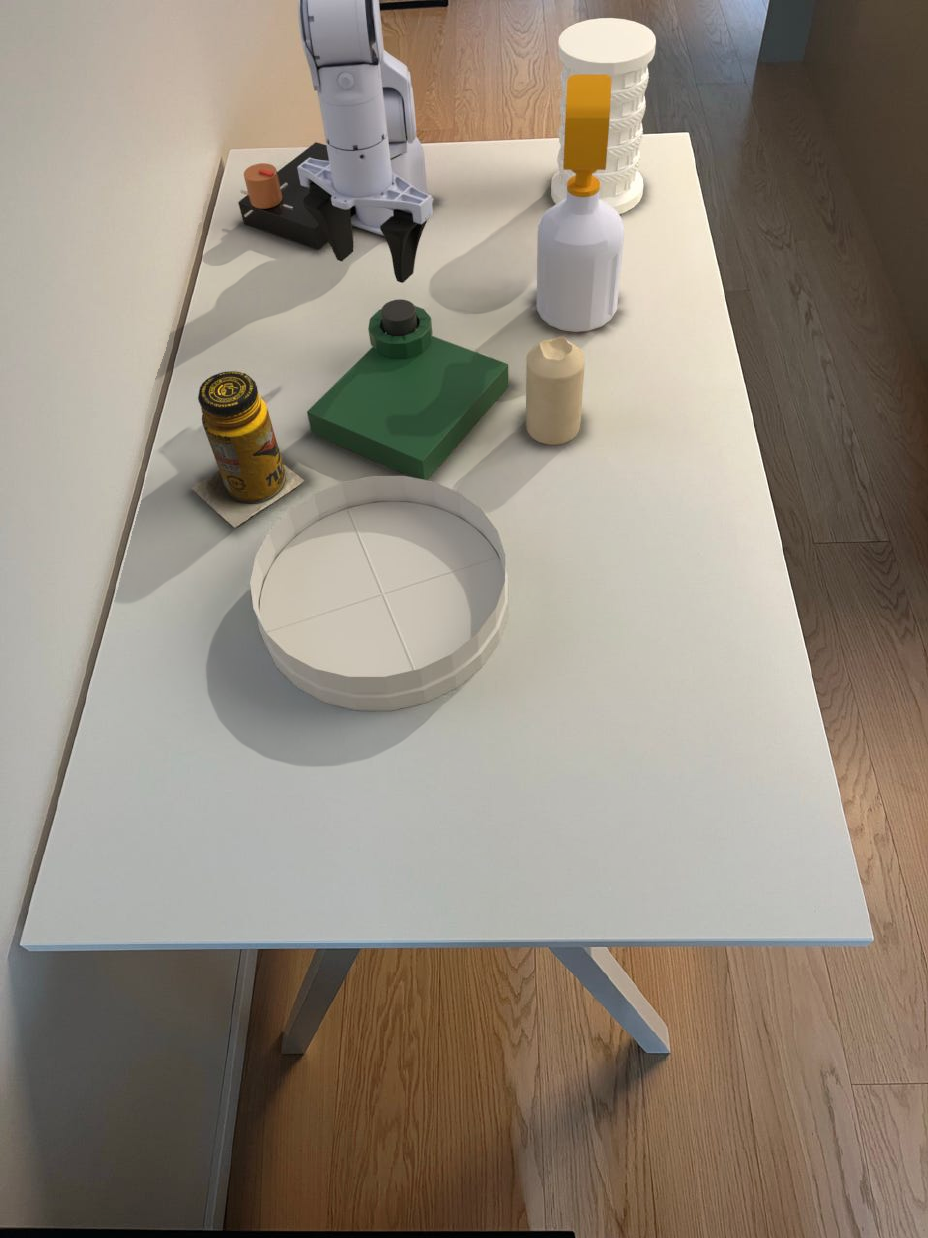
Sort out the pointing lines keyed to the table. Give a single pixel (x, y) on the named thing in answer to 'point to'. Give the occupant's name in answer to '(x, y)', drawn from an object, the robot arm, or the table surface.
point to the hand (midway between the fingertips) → (374, 266)
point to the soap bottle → (581, 221)
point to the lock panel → (290, 206)
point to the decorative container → (625, 60)
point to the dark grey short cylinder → (399, 318)
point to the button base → (409, 399)
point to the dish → (381, 592)
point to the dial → (263, 185)
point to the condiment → (241, 449)
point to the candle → (554, 391)
